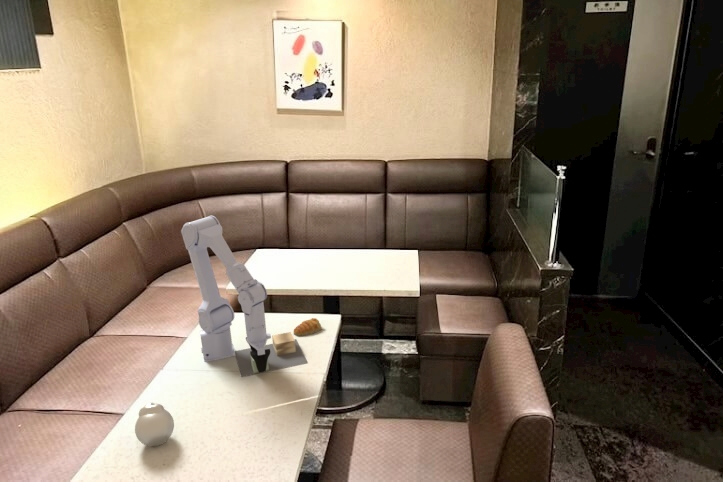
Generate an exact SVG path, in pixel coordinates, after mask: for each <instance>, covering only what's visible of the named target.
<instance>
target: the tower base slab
mask: <svg viewBox="0 0 723 482" xmlns="http://www.w3.org/2000/svg"><path fill="white" fill-rule="evenodd" d="M272 344H273V347H274V350H275V352H276V355H277V356H278V355H282V354H287V353H292V352H296V349H295V346H294V347H289V348H284V349H279V350H276V348H275V346H274V343H273V342H272Z"/></svg>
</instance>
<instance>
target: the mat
mask: <svg viewBox="0 0 723 482" xmlns="http://www.w3.org/2000/svg"><path fill="white" fill-rule="evenodd" d="M294 340H295V349H296V352H292V353H287V354H282V355H278V356H277V355H276V352H275V350H274V347H273V343H269V344H266V345H265V350H266V349H270V355H269V357H268V367H269V370H266V371H264V372H256V373H254V372H253V368H252V364H251V355H250V351H251V348H249V347H248V348H244V349H239V350H234V351H235V358H236V363H237V365H238V369H239V374H240V377H241V378H245V377H250V376H254V375H258V374H263V373H268V372H272V371H277V370H282V369H286V368H292V367H296V366H302V365H306V364H309V362H308V360H307V359H306V356H305V354H304V352H303V350H302V348H301V346H300V344H299V342H298V340H297V338H294Z"/></svg>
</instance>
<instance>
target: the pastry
mask: <svg viewBox="0 0 723 482" xmlns="http://www.w3.org/2000/svg"><path fill="white" fill-rule="evenodd" d="M322 329H323V328H322V325H321V323H320V321H319V319H317V318H315V317H312V318H310V319H308V320H303V321H302V322H301V323H300V324H298V325H297V326H296V327H294V329H293V335H294V336H296V337H297V336H298V337H301V336H306V335H307V336H308V335H311V334H314V333H317V332H319V331H322Z"/></svg>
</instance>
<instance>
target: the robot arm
mask: <svg viewBox="0 0 723 482" xmlns="http://www.w3.org/2000/svg"><path fill="white" fill-rule="evenodd" d="M180 233H181V236H182V239H183V243H184V246H185V249H186V250H187V251H188V255H189V258H190V261H191V264H192V268H193V271H194V274H195V278H196V281H197V285H198V287H199V292H200V295H201V298H202V302H201V304H200V305H199V307H198V309H197V314H198V323H199V327H200V328H201V330H199V335H200V336H199V337H200V340H201V341H200V342H201V347H200V349H201V351H200V352H201V354H203V361H204V362H205V363H206V362H207V363H208V362H211V361H217V360H222V359H226V358H230V357H233V358H234V357H236V355H235V351H236V350H235V347H234V344H233V340H232V333H231V332H232V331H231V326H233V324H232V322H233V321H234V320H235V312H234V308H233V307H232V306H231V304H230V301H229V299H228V298H225V297H223V296H221V294H220V289H219V287H218V283H217V279H216V276H215V272H214V270H213V266H212V263H211V259H210V256H209V252H208V248H210V250H212V252H213V253H214V254H215V255H216V257H217V258H218V259H219V261H220V263H222V264H223V265H224V267H225V268H226V271H225V276H227V277H226V278H228V280H229V281H230V282H231V284H232V285H233V287H234V289H235V290H236V292H237V293H238V296H237V300H238V303H239V304H240V306H241V310H242V313H243V314H244V322H245V323H244V324H245V332H246V333H245V334H246V337H245V342H246V343H247V344H248V346H249V347H250V348H251V351H250V354H251V356H252V358H253V359H254V361H255V363H256V367H257V370H258V372H264V371H266V366H267V360H268V357H269V355H270V349H266V350H265V345H267V342H268V340H270V339H272V335H271V333H267V325H266V318H265V317H266V316H265V314H266V313H265V306H264V301H265V300H266V299H267V298H268V291H267V289H266V287H265V285H264V284H263V283H262V282H261V281H258V280H257V279H256V278H255V279H254V277H253V276H252V274H251V273H250V272H249V270H248V268H247V267H246V266H245V264H244V263H243V262H239V261H238V260H237V259H236V258H235V255H234V254H233V252H232V250H231V248H230V246H229V245H228V244H227V241H226V240H225V238H224V236H223V226H222V225H221V224H220V221H219V219H218V218H217V217H216V216H214V215H208V216H205V217H203V218H199V219H196V220H193V221H190V222H185V223H184V224H183V226H182V228H181V230H180ZM264 373H265V372H264Z"/></svg>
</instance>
